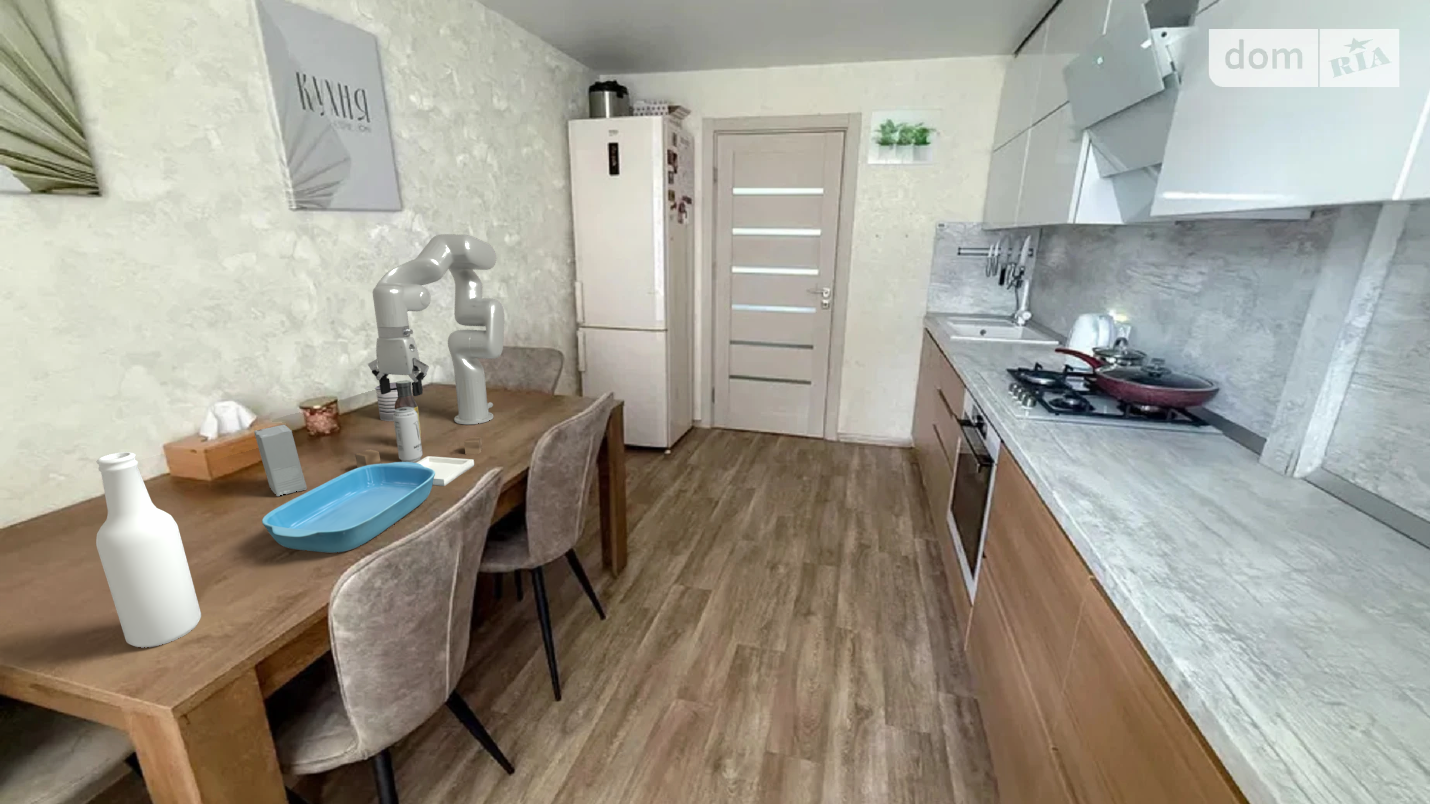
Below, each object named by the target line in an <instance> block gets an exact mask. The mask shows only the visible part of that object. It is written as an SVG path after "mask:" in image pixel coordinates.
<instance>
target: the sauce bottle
mask: <svg viewBox="0 0 1430 804" xmlns="http://www.w3.org/2000/svg"><path fill="white" fill-rule="evenodd" d="M396 387H397V393H398V394H397V395H398V398H397V400H396V402H395V410H396V409H398V408H402V407H413V408H414V410H415V411H416V413H417V415H418V422H419V430H420V438H421V439H422V432H421V422H420V413H419V406H418V404H417V402H416V400H415V398H414V396H412V395H413V392H412V393H411V387H412V381H411V380H407V379H405V380H398V381H396Z"/></svg>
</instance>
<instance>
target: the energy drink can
mask: <svg viewBox="0 0 1430 804" xmlns="http://www.w3.org/2000/svg"><path fill="white" fill-rule="evenodd" d="M393 419H394V421H393V425H394V431H395V438H396V445H397V446H396V447H397V451H398V459H399V460H401V462H413V463H416V462H418V461H420V460H422V456H423V447H422V440H421V439H422V437H421V438H420V431H421V429H420V430H419V422H420V421H419V422H418V415H417V413H416V411H415V410H414V408H413V407H402V408H398V409H396V410H395V413H394V416H393Z"/></svg>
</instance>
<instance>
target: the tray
mask: <svg viewBox="0 0 1430 804" xmlns="http://www.w3.org/2000/svg"><path fill="white" fill-rule="evenodd" d="M474 460H475V459H469V458H456V457H445V456H434V455H433V456H429V455H427V456H425V457H423V458H421V459H420V460H418V461H415V463H419V464H421V465H423V466H424V467H427V468H430V469H433V470H434V471H435V476H434V479H433V484H432V486H439V487H440V486H441V487H445V486H447V485H448V484H449V483H451V482H452V481H454V480H456V479H457V478H458V477H459V476H461V475H463V474H464V473H466V472H468V471H469V470H471V468H473V467H474V466H475V461H474Z"/></svg>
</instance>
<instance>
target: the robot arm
mask: <svg viewBox="0 0 1430 804" xmlns="http://www.w3.org/2000/svg"><path fill="white" fill-rule="evenodd" d="M496 263H497V254H496V251H495V248H494V247H493V246H492V245H491V244H490V243H489V242H486V241H484V240H482V239H479V238H477V237H474V236H472V235H468V234H450V233H448V234H447V233H440V234H436V235H434V236H433V237H432V238H431V239H430V240H429V241H428V243H427V244H426V245H425V247H424V248H423V249H422V250H421V252H420V253H419V254H418V255H417V256H416V257H415V258H414V259H411V260H408V261H406V262H405V263H402V264H400V265H398V266H396V267H393V268H392V269H390V270H389V271H387V272H386V273H385V274H384V275H382V277H381V278H380V280H379V281H378V282H377V283H376V285H375V287H374V288H373V289H372V301H373V305H374V306H373V307H374V312H375V314H374V315H375V321H376V329H377V336H378V337H377V338H376V344H375V346H376V348H375V349H376V350H375V352H376V353H375V356H376V359H374V360H372V361H371V362H369V363H368V364H367V366H368V367H369V369H370V371H371V373H372V374H373V376H375V378H376V380H377V381H378V383H379V385H380V390H381V394H386V393H389V392H391V388H390V383H391V382H390V378H389V375H392V376H393V375H395V376H396V375H397V376H408V377H410V379H411V380H412V381H411V387H412V395H413V397H418V396H421V395H423V391H424V390H423V381H424V379H425V378H426V377H427V373H428V371H429V369H430V367H429V365H428V364H426V363H424V362H422V361H420V360H421V359H420V355H419V350H418V347H417V344H416V341H415V338H414V337H412V336H411V335H413V334H414V330H413V329H412V328H411V329H410V324H409V323H410V322H409V316H408V312H422V311H424V310H426V309H427V308H428V307H429V306H430V304H431V301H432V298H431V293H430V291H429V290H428V288H426V286H425V285H429V284H432V283H436V282H438V281H440V280H441V279H442V278H443V277H444V275H445V274H446V272H447V271H448V270H449V272H450V273H451V275H452V278H453V280H454V290H455V291H454V311H453V312H454V319H455V320H454V321H455V322H456V323H457V324H459V325H461V326H465V327H466V326H468V327H485V329H483V330H482V329H480V330H479V329H478V330H477V329H457V330H454V331H453V332H451V333H450V334H449V336H448V338H447V347H448V350H449V353H450V356H451V357H450V358H451V361H452V365H453V372H454V381H455V382H454V383H455V384H454V385H455V393H456V400H457V409H458V411H457V412H458V414H457V415H455V417H454V418H453V419H454V422H455V423H457V424H458V425H459V424H460V425H478V423H479V424H484V423H487V422H490V421H491V420H493V418H494V414H493V413H492V412H490V411H489V409H491V408H492V407H493V406H494V404H493V402H491V401H490V402H488V398H487V397H488V395H487V387H486V375H485V369H484V366H483V364H482V363H481V361H480V360H479V359H483V360H484V359H485V360H486V359H491V360H492V359H498V358H499V357H500V356H501V355H502V353H503V350H504V335H505V334H504V332H505V311H504V307H503V304H502V302H500V301H499V300H498V299H496V298H490V297H483V283H482V280H481V279H480V278H479V276H478V274H477V273H476V272H475V271H474V270H477V271H478V270H479V271H482V270H483V271H485V270H487V271H488V270H491V269H493V268H494V267H495V265H496ZM489 420H490V421H489Z"/></svg>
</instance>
